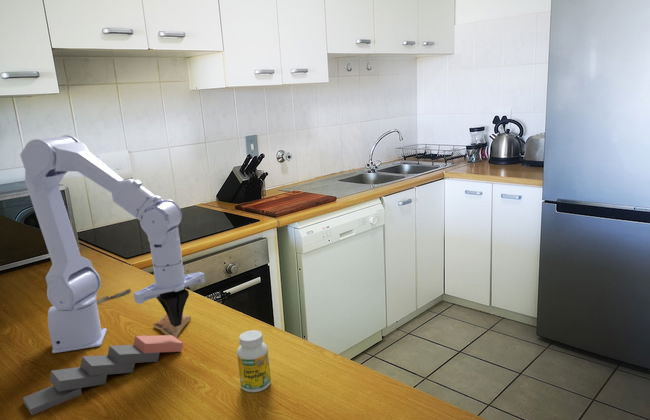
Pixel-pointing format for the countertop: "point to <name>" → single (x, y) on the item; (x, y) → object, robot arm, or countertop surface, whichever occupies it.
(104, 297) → the grey brown bark strip
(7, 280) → the countertop surface
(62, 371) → the domino
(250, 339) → the supplement bottle
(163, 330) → the shard
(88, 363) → the domino
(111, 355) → the domino
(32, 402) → the domino
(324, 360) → the countertop surface
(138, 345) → the red domino
